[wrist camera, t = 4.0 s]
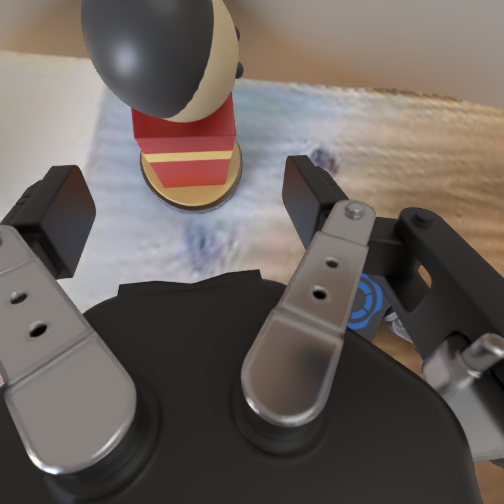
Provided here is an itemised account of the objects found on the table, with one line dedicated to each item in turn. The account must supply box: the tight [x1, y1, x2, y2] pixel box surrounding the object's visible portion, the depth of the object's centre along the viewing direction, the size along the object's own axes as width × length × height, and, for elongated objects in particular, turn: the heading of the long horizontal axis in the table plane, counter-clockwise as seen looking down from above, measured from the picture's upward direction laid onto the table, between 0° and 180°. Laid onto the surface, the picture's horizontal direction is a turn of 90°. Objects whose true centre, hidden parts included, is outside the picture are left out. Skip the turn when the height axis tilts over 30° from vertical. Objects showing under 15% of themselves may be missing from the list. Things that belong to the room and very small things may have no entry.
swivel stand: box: [140, 140, 242, 214], centre depth 23 cm, size 8×8×2 cm
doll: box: [81, 0, 243, 206], centre depth 15 cm, size 7×7×14 cm
